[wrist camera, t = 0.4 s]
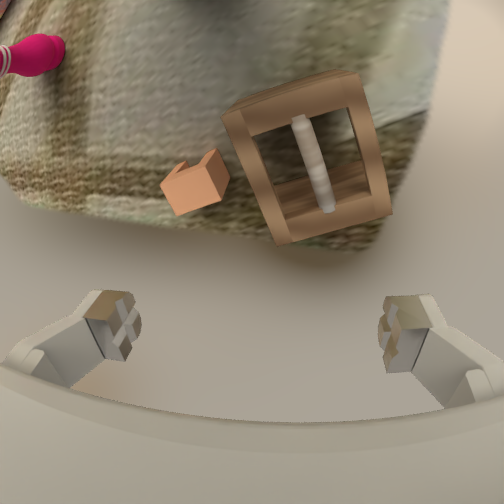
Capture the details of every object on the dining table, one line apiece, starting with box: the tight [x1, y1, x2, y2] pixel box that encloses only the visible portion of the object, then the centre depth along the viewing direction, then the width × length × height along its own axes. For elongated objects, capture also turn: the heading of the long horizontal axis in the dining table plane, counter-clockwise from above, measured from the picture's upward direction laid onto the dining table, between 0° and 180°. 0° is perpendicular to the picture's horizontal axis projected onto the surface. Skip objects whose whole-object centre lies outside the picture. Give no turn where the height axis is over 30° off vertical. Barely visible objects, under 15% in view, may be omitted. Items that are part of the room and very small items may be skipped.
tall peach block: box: [160, 148, 230, 216], centre depth 42 cm, size 5×7×8 cm
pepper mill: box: [0, 34, 65, 78], centre depth 26 cm, size 7×7×20 cm
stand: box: [221, 69, 393, 247], centre depth 36 cm, size 16×14×14 cm
